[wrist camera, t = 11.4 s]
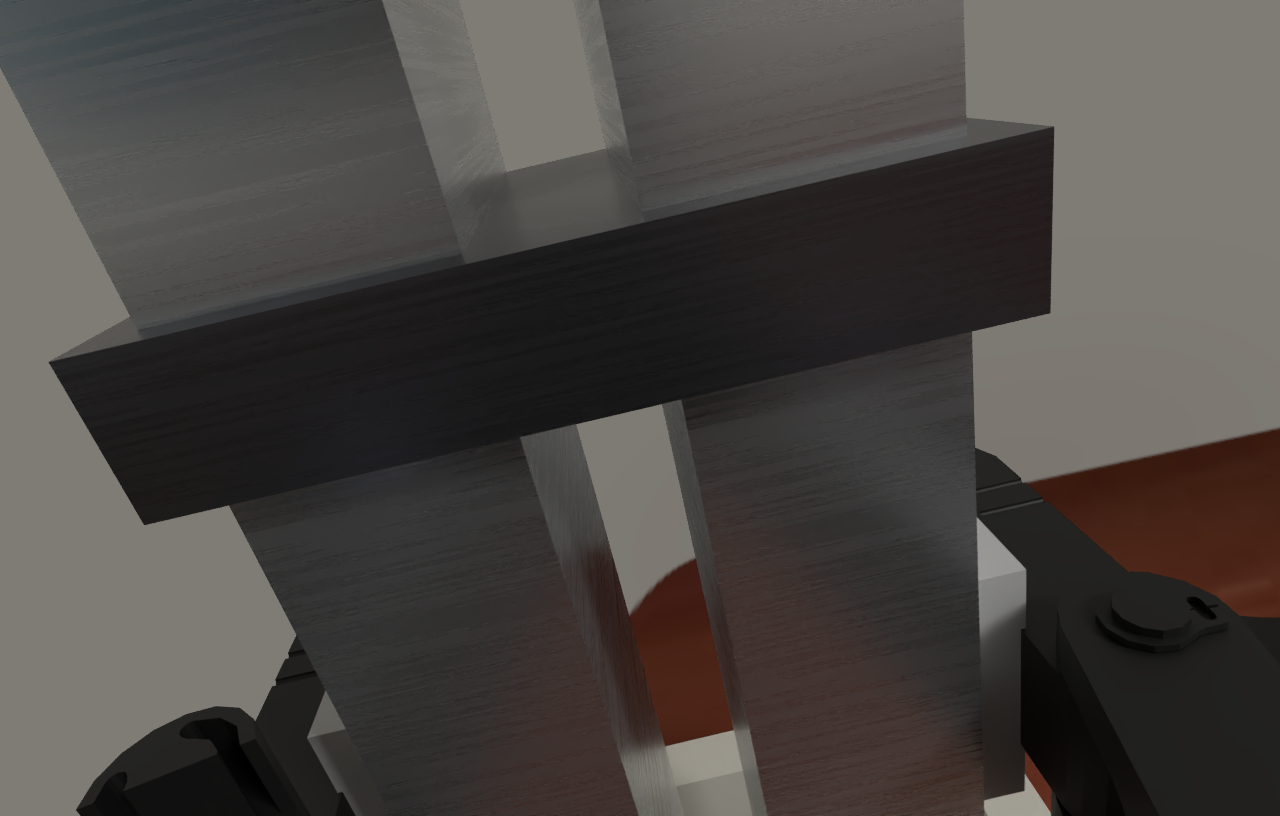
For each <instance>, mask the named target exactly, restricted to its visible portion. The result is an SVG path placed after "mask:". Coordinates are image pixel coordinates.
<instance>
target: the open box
mask: <svg viewBox="0 0 1280 816" xmlns="http://www.w3.org/2000/svg"><path fill="white" fill-rule="evenodd" d="M665 747H666V751H667V755H668V758H669V762H670V765H671V769H672V773H673V776H674V780H675V783H676V787H677V791H678V794H679V798H680V801H681V805H682V809H683V812H684V816H752V811H751V806H750V802H749V797H748V793H747V788H746V784H745V779H744V775H743V770H742V766H741V761H740V756H739V752H738V747H737V743H736V738H735V734H734V730H733V731H729V732H724V733H720V734H716V735H712V736H707V737H703V738H699V739H695V740H690V741H686V742H682V743H678V744H674V745H669V746H665ZM984 816H1051V813H1050V811H1049V810H1048V808H1047V807H1046V805H1045V804H1044V802H1043V801H1042V799H1041V798H1040V796H1039V795H1038V793H1037V792H1036V790H1035V789H1034V787H1033V786H1032V784H1031V783H1030V781H1029V780H1028V778H1027V777H1026V775H1025V791H1022V792H1018V793H1014V794H1009V795H1005V796H1001V797H997V798H992V799H988V800H984Z"/></svg>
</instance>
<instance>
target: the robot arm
mask: <svg viewBox="0 0 1280 816" xmlns="http://www.w3.org/2000/svg"><path fill="white" fill-rule="evenodd" d="M975 471H976V510H977V549H978V588H979V627H980V666H981V705H982V743H983V782H984V800H988V799H992V798H997V797H1001V796H1005V795H1009V794H1014V793H1018V792H1022V791H1025V751H1026V752H1027V754H1028V755H1029V757H1030V758H1031V760H1032V761H1033V763H1034V764H1035V765H1036V767H1037V768H1038V770H1039V771H1040V773H1041V774H1042V776H1043V777H1044V779H1045V780H1046V781H1047V783H1048V784H1049V786H1050V787H1051V789H1052V800H1051V816H1280V618H1261V617H1247V616H1239V615H1238V614H1236V613H1235V612H1234V611H1233V610H1232V609H1230V608H1229V607H1228V606H1227V605H1226V604H1225V603H1223V602H1222V601H1221V600H1220V599H1219V598H1217V597H1216V596H1215V595H1212V594H1210V593H1208V592H1206V591H1204V590H1202V589H1200V588H1198V587H1195V586H1193V585H1191V584H1189V583H1187V582H1185V581H1182V580H1178V579H1174V578H1170V577H1166V576H1161V575H1157V574H1153V573H1149V572H1128V571H1127V570H1125V569H1124V568H1123V567H1122V566H1121V565H1120V564H1119V563H1117V562H1116V561H1115V560H1114V559H1113V558H1112V557H1111V556H1109V555H1108V554H1107V553H1106V552H1105V551H1104V550H1103V549H1101V548H1100V547H1099V546H1098V545H1097V544H1096V543H1095V542H1093V541H1092V540H1091V539H1090V538H1089V537H1088V536H1087V535H1085V534H1084V533H1083V532H1082V531H1081V530H1080V529H1079V528H1077V527H1076V526H1075V525H1074V524H1073V523H1072V522H1071V521H1069V520H1068V519H1067V518H1066V517H1065V516H1064V515H1063V514H1061V513H1060V512H1059V511H1058V510H1057V509H1056V508H1055V507H1053V506H1052V505H1051V504H1050V503H1049V502H1044V501H1043V498H1042V496H1041V495H1040V494H1039V493H1037V492H1036V491H1035V490H1034V489H1033V488H1032V487H1031V486H1029V485H1028V484H1027V483H1022V481H1021V478H1020V477H1019V476H1018V475H1017V474H1016V473H1015V472H1013V471H1012V470H1011V469H1010V468H1009V467H1008V466H1007V465H1005V464H1004V463H1003V462H1002V461H1001V460H1000V459H998V458H997V457H996V456H994V455H992V454H989V453H987V452H984V451H982V450H979V449H977V448H975ZM288 654H289V658H288V659H285V661H284V663H283V665H282V667H281V669H280V671H279V673H278V675H277V677H276V686H273V687H272V688H271V690H270V692H269V694H268V696H267V698H266V700H265V703H264V705H263V707H262V709H261V711H260V713H259V715H258V717H257V719H256V721H254V719H253V718H251V717H250V716H249V715H248V714H247V713H245V712H244V711H243V710H242V709H240V708H234V707H218V706H217V707H212V708H208V709H204V710H201V711H196V712H193V713H189V714H186V715H184V716H182V717H180V718H178V719H176V720H174V721H172V722H169V723H167V724H166V725H163V726H161V727H160V728H157V729H155V730H153V731H152V732H151V733H149V734H148V735H146V736H145V737H144V738H142V739H141V740H139V741H138V742H137V743H135V744H134V745H133V746H131V747H130V748H128V749H127V750H126V751H124V752H123V753H122V754H120V755H119V757H117V759H115V761H114V762H113V763H112V764H111V765H110V766H109V767H108V768H107V769H106V770H105V771H104V772H103V773H102V774H101V775H100V776H99V777H98V778H97V779H96V780H95V781H94V782H93V784H92V785H91V787H90V788H89V790H88V792H87V793H86V795H85V796H84V798H83V800H82V801H81V803H80V804H79V806H78V808H77V809H76V811H77V812H78V813H79V814H80V816H391V815H390V813H389V811H388V809H387V807H386V805H385V803H384V801H383V799H382V797H381V795H380V794H379V792H378V790H377V788H376V786H375V784H374V782H373V780H372V778H371V776H370V774H369V772H368V771H367V769H366V767H365V765H364V763H363V761H362V759H361V757H360V755H359V753H358V751H357V749H356V748H355V746H354V744H353V742H352V740H351V738H350V736H349V734H348V732H347V730H346V728H345V727H344V725H343V723H342V721H341V719H340V717H339V715H338V713H337V711H336V709H335V707H334V705H333V704H332V702H331V700H330V698H329V696H328V694H327V692H326V690H325V688H324V686H323V684H322V682H321V681H320V679H319V677H318V675H317V673H316V671H315V669H314V667H313V665H312V663H311V661H310V659H309V658H308V656H307V654H306V652H305V650H304V648H303V646H302V644H301V642H300V640H299V638H298V637H297V635H296V637H295V640H294V642H293V644H292V646H291V648H290V650H289V652H288Z"/></svg>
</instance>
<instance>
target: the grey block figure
mask: <svg viewBox="0 0 1280 816" xmlns="http://www.w3.org/2000/svg"><path fill="white" fill-rule="evenodd" d="M573 1H574V5H575V10H576V15H577V19H578V23H579V28H580V33H581V37H582V42H583V46H584V51H585V55H586V60H587V64H588V69H589V74H590V78H591V83H592V87H593V92H594V96H595V101H596V106H597V110H598V115H599V119H600V124H601V128H602V133H603V138H604V142H605V147H606V149H603V150H599V151H595V152H590V153H586V154H582V155H578V156H573V157H569V158H565V159H561V160H556V161H552V162H548V163H544V164H540V165H535V166H531V167H527V168H522V169H518V170H514V171H509V172H506V169H505V166H504V162H503V158H502V155H501V151H500V148H499V144H498V140H497V137H496V133H495V130H494V126H493V122H492V119H491V115H490V112H489V108H488V104H487V101H486V97H485V93H484V90H483V86H482V82H481V79H480V75H479V72H478V68H477V64H476V61H475V57H474V54H473V50H472V47H471V43H470V39H469V36H468V32H467V29H466V25H465V21H464V18H463V14H462V10H461V7H460V3H459V0H0V68H1V70H2V72H3V74H4V75H5V77H6V79H7V81H8V83H9V85H10V87H11V89H12V91H13V93H14V94H15V97H16V98H17V100H18V102H19V104H20V106H21V108H22V110H23V112H24V114H25V116H26V118H27V119H28V121H29V123H30V125H31V127H32V129H33V131H34V133H35V135H36V137H37V138H38V141H39V142H40V144H41V146H42V148H43V150H44V152H45V154H46V156H47V158H48V160H49V162H50V164H51V165H52V167H53V169H54V171H55V173H56V175H57V177H58V179H59V181H60V183H61V184H62V186H63V188H64V190H65V192H66V194H67V196H68V198H69V200H70V202H71V204H72V206H73V207H74V209H75V211H76V213H77V215H78V217H79V219H80V221H81V223H82V225H83V227H84V229H85V231H86V232H87V234H88V236H89V238H90V240H91V242H92V244H93V246H94V248H95V250H96V252H97V253H98V255H99V257H100V259H101V261H102V263H103V265H104V267H105V269H106V271H107V273H108V274H109V277H110V278H111V280H112V282H113V284H114V286H115V288H116V290H117V292H118V293H119V296H120V298H121V299H122V301H123V303H124V305H125V307H126V309H127V311H128V313H129V315H130V317H129V318H127V319H126V320H124V321H122V322H120V323H118V324H116V325H115V326H113V327H111V328H109V329H107V330H105V331H104V332H102V333H100V334H98V335H96V336H95V337H93V338H91V339H89V340H87V341H86V342H84V343H82V344H80V345H78V346H77V347H75V348H73V349H71V350H69V351H68V352H66V353H64V354H62V355H60V356H58V357H57V358H55V359H53V360H51V361H50V362H49V364H50V365H51V367H52V369H53V370H54V372H55V374H56V375H57V377H58V379H59V381H60V382H61V384H62V386H63V387H64V389H65V391H66V392H67V394H68V396H69V398H70V399H71V401H72V403H73V404H74V406H75V408H76V410H77V411H78V413H79V415H80V416H81V418H82V420H83V422H84V423H85V425H86V427H87V428H88V430H89V432H90V433H91V435H92V437H93V439H94V440H95V442H96V444H97V445H98V447H99V449H100V450H101V452H102V454H103V456H104V457H105V459H106V461H107V462H108V464H109V466H110V468H111V469H112V471H113V473H114V474H115V476H116V478H117V479H118V481H119V483H120V485H121V486H122V488H123V490H124V492H125V493H126V495H127V496H128V498H129V500H130V502H131V503H132V505H133V507H134V509H135V510H136V512H137V514H138V515H139V517H140V519H141V520H142V522H143V524H144V525H147V524H151V523H156V522H160V521H164V520H169V519H173V518H177V517H181V516H186V515H190V514H194V513H198V512H203V511H207V510H211V509H216V508H220V507H224V506H228V505H229V506H230V508H231V510H232V512H233V514H234V516H235V518H236V520H237V522H238V524H239V525H240V527H241V529H242V531H243V533H244V535H245V537H246V539H247V541H248V542H249V545H250V547H251V548H252V550H253V552H254V554H255V556H256V558H257V560H258V562H259V564H260V566H261V567H262V570H263V571H264V573H265V575H266V577H267V579H268V581H269V583H270V585H271V587H272V589H273V590H274V592H275V594H276V596H277V598H278V600H279V602H280V604H281V606H282V608H283V610H284V612H285V613H286V615H287V617H288V619H289V621H290V623H291V625H292V627H293V629H294V631H295V633H296V635H297V637H298V638H299V640H300V642H301V644H302V646H303V648H304V650H305V652H306V654H307V656H308V658H309V659H310V661H311V663H312V665H313V667H314V669H315V671H316V673H317V675H318V677H319V679H320V681H321V682H322V684H323V686H324V688H325V690H326V692H327V694H328V696H329V698H330V700H331V702H332V704H333V705H334V707H335V709H336V711H337V713H338V715H339V717H340V719H341V721H342V723H343V725H344V727H345V728H346V730H347V732H348V734H349V736H350V738H351V740H352V742H353V744H354V746H355V748H356V749H357V751H358V753H359V755H360V757H361V759H362V761H363V763H364V765H365V767H366V769H367V771H368V772H369V774H370V776H371V778H372V780H373V782H374V784H375V786H376V788H377V790H378V792H379V794H380V795H381V797H382V799H383V801H384V803H385V805H386V807H387V809H388V811H389V813H390V815H391V816H684V812H683V809H682V805H681V801H680V798H679V794H678V791H677V787H676V783H675V780H674V776H673V773H672V769H671V765H670V762H669V758H668V755H667V751H666V747H665V744H664V740H663V736H662V733H661V729H660V726H659V722H658V718H657V715H656V711H655V708H654V704H653V700H652V697H651V693H650V689H649V686H648V682H647V679H646V675H645V671H644V668H643V664H642V661H641V657H640V653H639V650H638V646H637V642H636V639H635V635H634V632H633V628H632V624H631V621H630V617H629V614H628V610H627V607H626V603H625V600H624V596H623V592H622V589H621V585H620V581H619V577H618V574H617V571H616V567H615V563H614V559H613V556H612V553H611V549H610V545H609V541H608V538H607V534H606V530H605V527H604V524H603V520H602V516H601V513H600V509H599V505H598V502H597V498H596V494H595V491H594V487H593V484H592V480H591V476H590V473H589V469H588V465H587V462H586V458H585V455H584V451H583V447H582V444H581V440H580V437H579V433H578V429H577V426H576V424H579V423H583V422H587V421H592V420H596V419H600V418H604V417H608V416H613V415H617V414H621V413H626V412H630V411H634V410H639V409H643V408H647V407H651V406H655V405H659V404H662V406H663V411H664V415H665V420H666V424H667V429H668V433H669V438H670V442H671V447H672V451H673V456H674V461H675V465H676V470H677V474H678V479H679V483H680V488H681V492H682V497H683V502H684V506H685V511H686V515H687V519H688V524H689V529H690V533H691V537H692V543H693V547H694V552H695V556H696V561H697V565H698V570H699V574H700V579H701V583H702V588H703V593H704V597H705V602H706V606H707V611H708V615H709V620H710V624H711V629H712V634H713V638H714V643H715V647H716V652H717V656H718V661H719V665H720V670H721V675H722V679H723V684H724V688H725V693H726V697H727V702H728V706H729V711H730V715H731V720H732V725H733V729H734V734H735V738H736V743H737V747H738V752H739V756H740V761H741V766H742V770H743V775H744V779H745V784H746V788H747V793H748V797H749V802H750V806H751V811H752V816H984V782H983V743H982V705H981V666H980V627H979V588H978V549H977V510H976V471H975V435H974V434H975V433H974V397H973V396H974V394H973V359H972V358H973V355H972V331H976V330H980V329H985V328H989V327H993V326H997V325H1002V324H1006V323H1010V322H1015V321H1019V320H1023V319H1027V318H1031V317H1036V316H1040V315H1044V314H1049V313H1050V305H1051V257H1052V210H1053V162H1054V161H1053V159H1054V157H1053V156H1054V127H1053V126H1043V125H1033V124H1023V123H1012V122H1003V121H993V120H983V119H972V118H966V83H965V48H964V47H965V46H964V45H965V44H964V7H963V6H964V5H963V0H573Z"/></svg>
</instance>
